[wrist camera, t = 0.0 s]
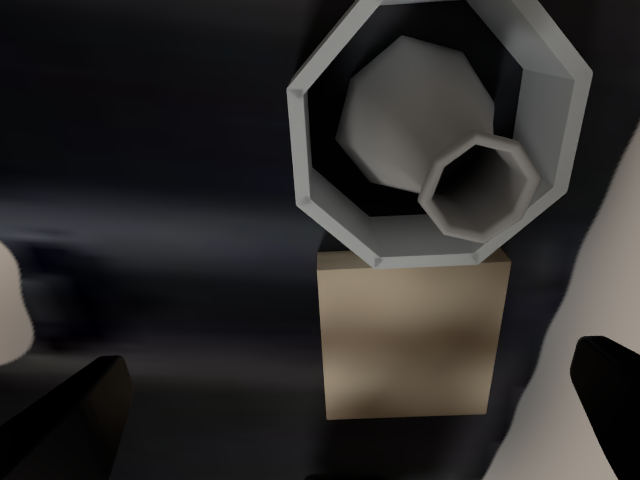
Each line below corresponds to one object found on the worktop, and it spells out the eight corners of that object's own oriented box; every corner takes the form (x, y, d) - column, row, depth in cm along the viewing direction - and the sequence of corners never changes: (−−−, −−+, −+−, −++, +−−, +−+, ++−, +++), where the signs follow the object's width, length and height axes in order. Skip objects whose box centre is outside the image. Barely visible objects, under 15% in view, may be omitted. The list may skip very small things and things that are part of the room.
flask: (309, 143, 21) (302, 228, 12) (396, 2, 19) (466, -16, 10) (424, 214, 23) (489, 333, 14) (519, 95, 20) (675, 151, 11)
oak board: (475, 389, 29) (485, 413, 27) (326, 395, 29) (326, 419, 27) (497, 243, 24) (511, 261, 22) (317, 252, 24) (317, 270, 22)
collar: (511, 220, 23) (551, 261, 19) (304, 230, 23) (301, 272, 19) (550, -22, 18) (616, -34, 14) (287, -6, 18) (278, -14, 14)
